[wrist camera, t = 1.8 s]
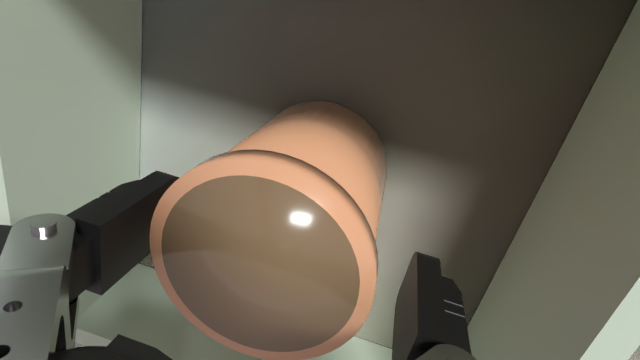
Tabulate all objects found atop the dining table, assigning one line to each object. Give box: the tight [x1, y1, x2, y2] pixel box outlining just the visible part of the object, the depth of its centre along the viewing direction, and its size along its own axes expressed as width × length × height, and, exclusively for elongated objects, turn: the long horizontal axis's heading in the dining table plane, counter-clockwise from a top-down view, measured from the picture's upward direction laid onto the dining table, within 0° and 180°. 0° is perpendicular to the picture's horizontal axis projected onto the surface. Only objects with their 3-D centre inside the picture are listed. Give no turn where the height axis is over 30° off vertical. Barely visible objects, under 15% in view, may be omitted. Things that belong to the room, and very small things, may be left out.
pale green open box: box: [0, 0, 640, 360], centre depth 14 cm, size 20×20×9 cm
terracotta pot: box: [149, 101, 387, 360], centre depth 14 cm, size 6×6×8 cm
